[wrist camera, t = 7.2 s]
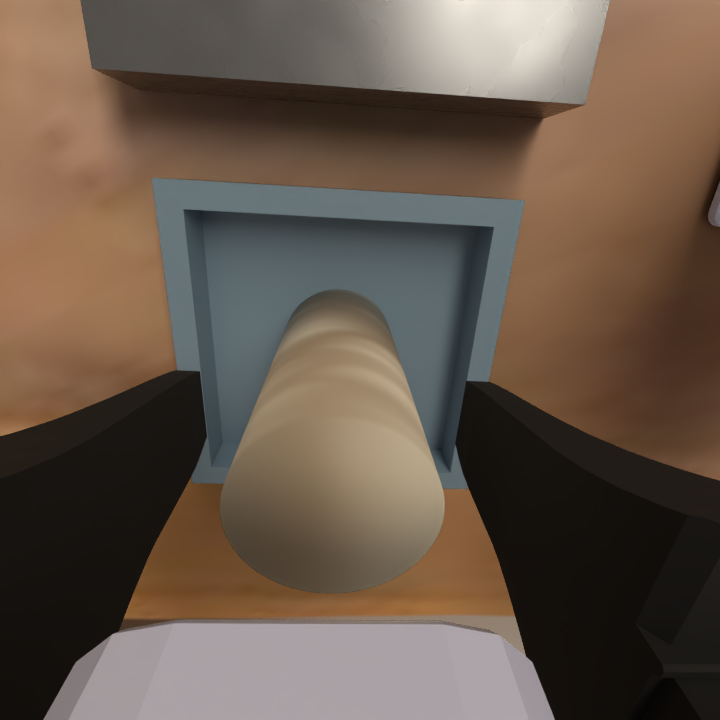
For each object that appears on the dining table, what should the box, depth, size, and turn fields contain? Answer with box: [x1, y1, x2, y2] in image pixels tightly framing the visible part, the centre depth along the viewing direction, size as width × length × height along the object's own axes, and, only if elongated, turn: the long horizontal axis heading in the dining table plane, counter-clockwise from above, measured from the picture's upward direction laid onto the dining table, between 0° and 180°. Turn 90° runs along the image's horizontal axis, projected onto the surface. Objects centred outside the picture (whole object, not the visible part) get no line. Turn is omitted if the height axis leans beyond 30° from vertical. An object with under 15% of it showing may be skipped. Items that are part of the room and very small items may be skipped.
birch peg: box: [220, 289, 445, 593], centre depth 11 cm, size 4×4×9 cm
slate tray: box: [152, 178, 525, 489], centre depth 15 cm, size 11×11×2 cm
